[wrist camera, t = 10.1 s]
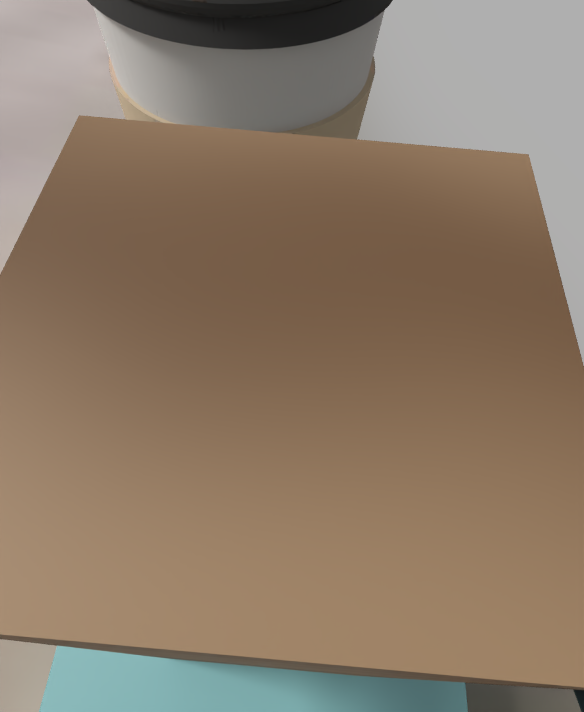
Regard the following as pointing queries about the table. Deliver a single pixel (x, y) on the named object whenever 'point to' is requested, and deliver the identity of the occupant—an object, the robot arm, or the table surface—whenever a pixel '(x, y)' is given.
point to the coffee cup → (244, 62)
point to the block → (292, 409)
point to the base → (228, 687)
